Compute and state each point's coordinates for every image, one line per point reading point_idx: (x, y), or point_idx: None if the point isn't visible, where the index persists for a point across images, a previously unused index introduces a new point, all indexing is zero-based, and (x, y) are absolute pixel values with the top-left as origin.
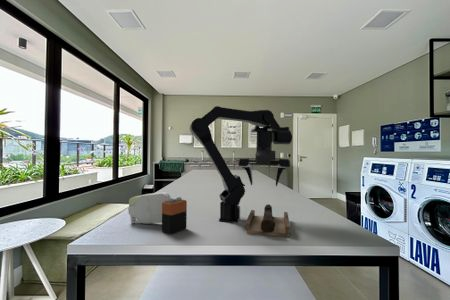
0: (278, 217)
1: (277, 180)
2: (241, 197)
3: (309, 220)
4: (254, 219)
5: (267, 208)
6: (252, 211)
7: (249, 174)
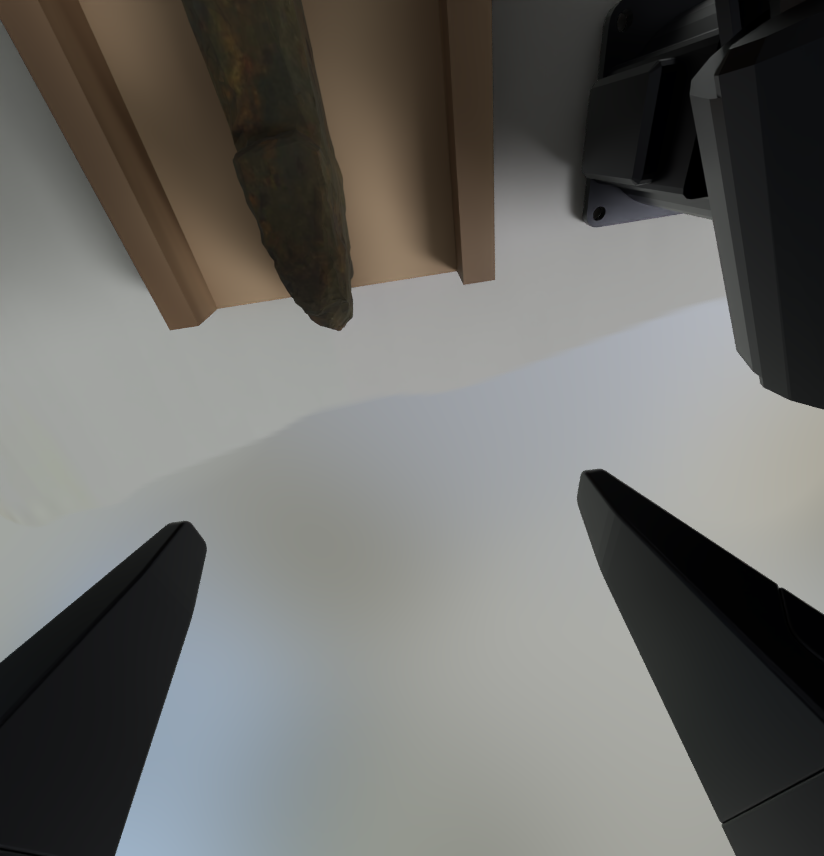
0: (254, 287)
1: (91, 599)
2: (713, 58)
3: (73, 367)
4: (432, 118)
5: (277, 135)
6: (475, 216)
7: (810, 649)
